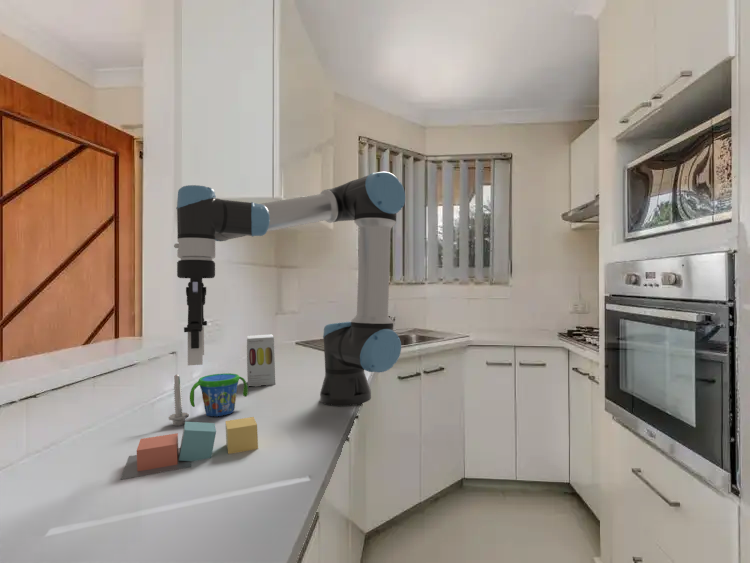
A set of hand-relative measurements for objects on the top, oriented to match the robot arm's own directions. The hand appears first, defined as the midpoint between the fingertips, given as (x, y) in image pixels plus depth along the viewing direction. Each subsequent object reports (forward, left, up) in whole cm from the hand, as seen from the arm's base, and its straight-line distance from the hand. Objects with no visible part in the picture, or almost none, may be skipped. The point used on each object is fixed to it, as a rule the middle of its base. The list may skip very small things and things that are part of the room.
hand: (196, 359), depth 95 cm
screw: (+16, -19, -20) cm, 32 cm away
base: (+6, +6, -20) cm, 22 cm away
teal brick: (0, +3, -19) cm, 20 cm away
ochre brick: (-8, -2, -20) cm, 22 cm away
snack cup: (+9, -28, -20) cm, 36 cm away
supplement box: (+10, -63, -20) cm, 67 cm away
